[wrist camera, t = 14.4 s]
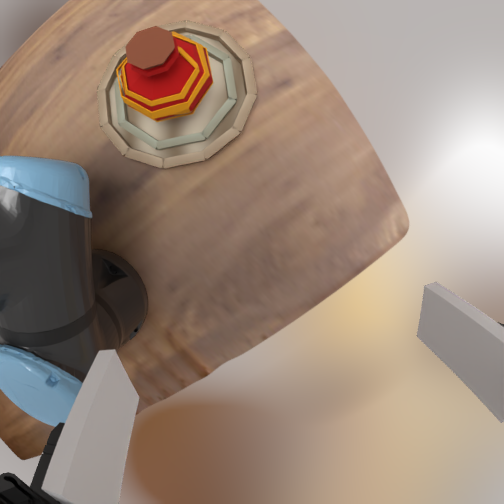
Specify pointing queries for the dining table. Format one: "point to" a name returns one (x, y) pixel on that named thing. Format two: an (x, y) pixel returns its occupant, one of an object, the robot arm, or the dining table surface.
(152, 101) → the potion bottle
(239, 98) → the tray
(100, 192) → the dining table surface
